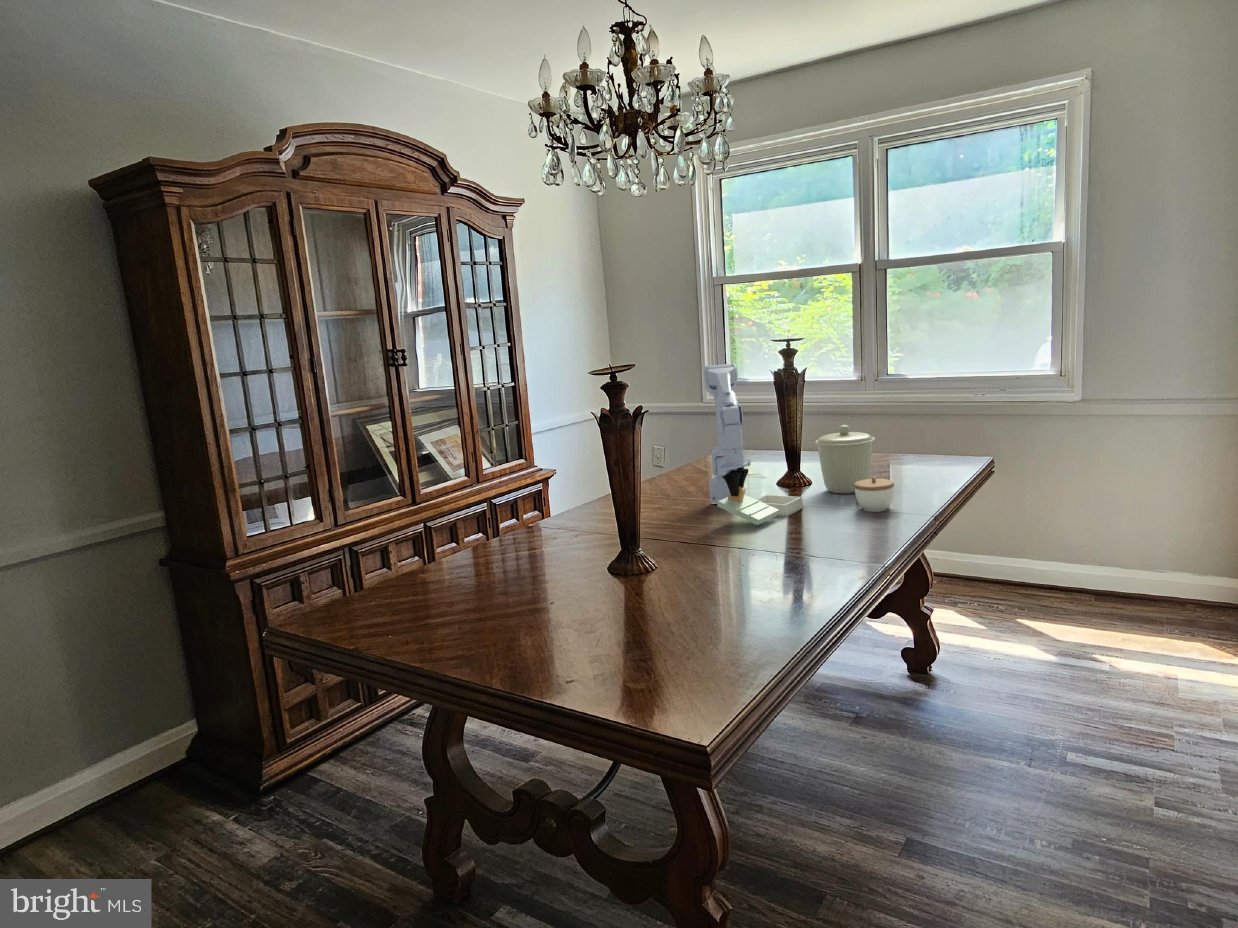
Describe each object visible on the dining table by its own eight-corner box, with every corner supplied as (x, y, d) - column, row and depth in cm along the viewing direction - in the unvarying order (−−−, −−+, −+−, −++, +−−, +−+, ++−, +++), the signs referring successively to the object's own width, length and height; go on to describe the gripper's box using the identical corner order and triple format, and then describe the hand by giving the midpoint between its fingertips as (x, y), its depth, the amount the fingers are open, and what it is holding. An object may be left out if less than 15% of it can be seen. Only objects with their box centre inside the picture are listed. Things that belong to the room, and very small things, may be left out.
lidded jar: (900, 511, 212) (899, 478, 210) (861, 515, 212) (860, 482, 211) (887, 503, 223) (886, 471, 221) (851, 506, 223) (849, 475, 221)
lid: (717, 506, 216) (721, 488, 214) (738, 497, 225) (742, 479, 222) (757, 524, 209) (762, 506, 207) (777, 514, 217) (782, 497, 215)
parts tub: (750, 513, 227) (749, 502, 226) (766, 505, 234) (766, 494, 234) (786, 516, 219) (785, 504, 219) (802, 508, 227) (801, 496, 226)
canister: (806, 491, 248) (802, 427, 244) (849, 481, 255) (846, 419, 252) (844, 499, 232) (840, 431, 228) (889, 489, 239) (886, 422, 235)
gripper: (731, 453, 208) (735, 501, 210) (758, 444, 218) (761, 490, 221) (709, 452, 212) (713, 500, 214) (737, 443, 223) (740, 489, 225)
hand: (736, 495), depth 218 cm, fingers closed on lid
